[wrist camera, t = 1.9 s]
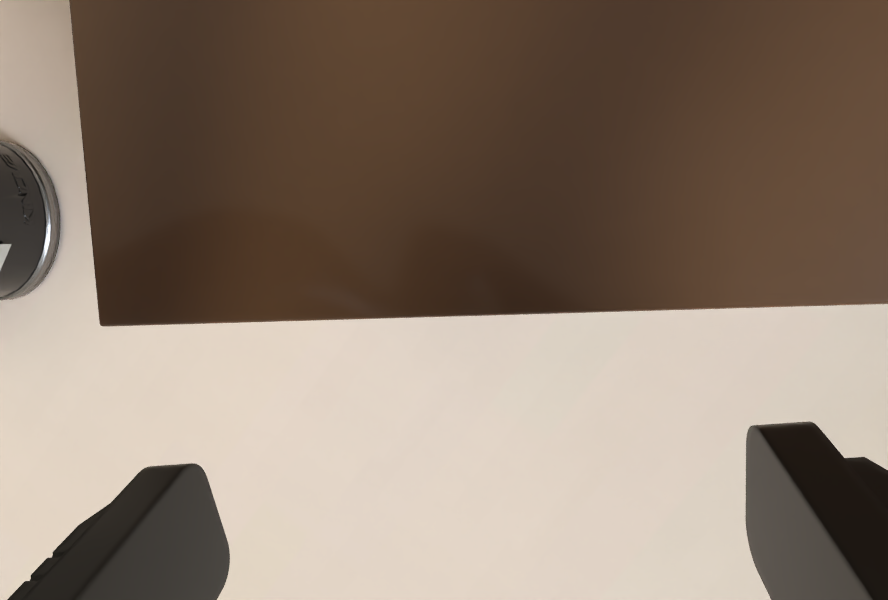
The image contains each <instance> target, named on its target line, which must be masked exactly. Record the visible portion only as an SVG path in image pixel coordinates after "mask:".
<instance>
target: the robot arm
mask: <svg viewBox="0 0 888 600" xmlns="http://www.w3.org/2000/svg"><path fill="white" fill-rule="evenodd" d="M59 237H60V214H59V207H58V201H57V197H56V194H55V191H54V188H53V185H52V183H51V181H50V178H49V177H48V175H47V173H46V171H45V170H44V168H43V167H42V165H41V164H40V163H39V161H38V160H37V159H36V158H35V157H34V156H33V155H32V154H31V153H29V152H28V151H27V150H25V149H24V148H22V147H20V146H19V145H16V144H14V143H11V142H6V141H0V300H5V299H14V298H18V297H21V296H24V295H26V294H28V293H29V292H31V291H32V290H34V289H35V288H36V287H37V286H38V285H39V284H40V283H41V282H42V281H43V279H44V278H45V277H46V275H47V274H48V272H49V270H50V268H51V266H52V264H53V262H54V259H55V256H56V253H57V249H58V244H59ZM746 530H747V536H748V542H749V546H750V550H751V554H752V557H753V561H754V563H755V566H756V568H757V571H758V573H759V575H760V577H761V579H762V581H763V583H764V585H765V587H766V589H767V592H768V594H769V596H770V598H771V600H888V470H886V469H884V468H882V467H881V466H879V465H877V464H876V463H874V462H872V461H870V460H869V459H867V458H865V457H858V458H844V457H843V456H842V455H841V454H840V452H839V451H838V450H837V449H836V448H835V446H834V445H833V444H832V443H831V442H830V440H829V439H828V438H827V437H826V436H825V434H824V433H823V432H822V431H821V430H820V429H819V427H818V426H817V425H816V424H814V423H813V422H797V423H783V424H769V425H754V426H751V427H750V428H749V430H748V433H747V440H746ZM229 563H230V554H229V546H228V542H227V538H226V535H225V532H224V529H223V526H222V523H221V520H220V517H219V513H218V510H217V507H216V504H215V501H214V498H213V495H212V491H211V488H210V485H209V482H208V479H207V476H206V474H205V472H204V470H203V469H202V468H201V467H200V466H199V465H197V464H179V465H164V466H150V467H146V468H144V469H143V470H141V471H140V472H139V473H138V474H137V475H136V476H135V478H134V479H133V480H132V481H131V482H130V483H129V484H128V485H127V486H126V487H125V488H124V489H123V490H122V491H121V493H120V494H119V495H118V496H117V497H116V498H115V499H114V500H113V501H112V502H111V503H110V504H109V505H107V506H106V507H104V508H103V509H101V510H100V511H99V512H97V513H96V514H94V515H93V516H91V517H90V518H88V519H87V520H86V521H84V522H83V523H81V524H80V525H78V526H77V527H76V529H75V530H74V531H73V532H72V533H71V534H70V535H69V536H68V537H67V538H66V539H65V540H64V541H63V542H62V543H61V544H60V545H59V546H58V547H57V548H56V549H55V550H54V552H53V556H52V558H47V559H46V560H45V561H44V562H43V563H42V564H41V565H40V566H39V567H38V568H37V569H36V570H35V571H34V572H33V573H32V575H31V579H30V581H25V582H24V583H23V584H22V585H21V586H20V587H19V588H18V589H17V590H16V591H15V592H14V593H13V594H12V595H11V597H10V598H9V599H8V600H217V598H218V596H219V594H220V593H221V591H222V589H223V587H224V585H225V582H226V579H227V575H228V571H229Z"/></svg>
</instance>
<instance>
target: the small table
mask: <svg viewBox="0 0 888 600" xmlns="http://www.w3.org/2000/svg"><path fill="white" fill-rule="evenodd" d="M69 1H70V12H71V23H72V33H73V44H74V55H75V65H76V76H77V87H78V97H79V108H80V118H81V129H82V140H83V150H84V161H85V172H86V182H87V193H88V204H89V214H90V225H91V235H92V246H93V257H94V267H95V278H96V289H97V299H98V310H99V321H100V325H101V326H136V325H170V324H205V323H239V322H274V321H309V320H343V319H378V318H413V317H447V316H482V315H516V314H551V313H586V312H620V311H655V310H690V309H724V308H759V307H793V306H828V305H863V304H888V0H69Z"/></svg>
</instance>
